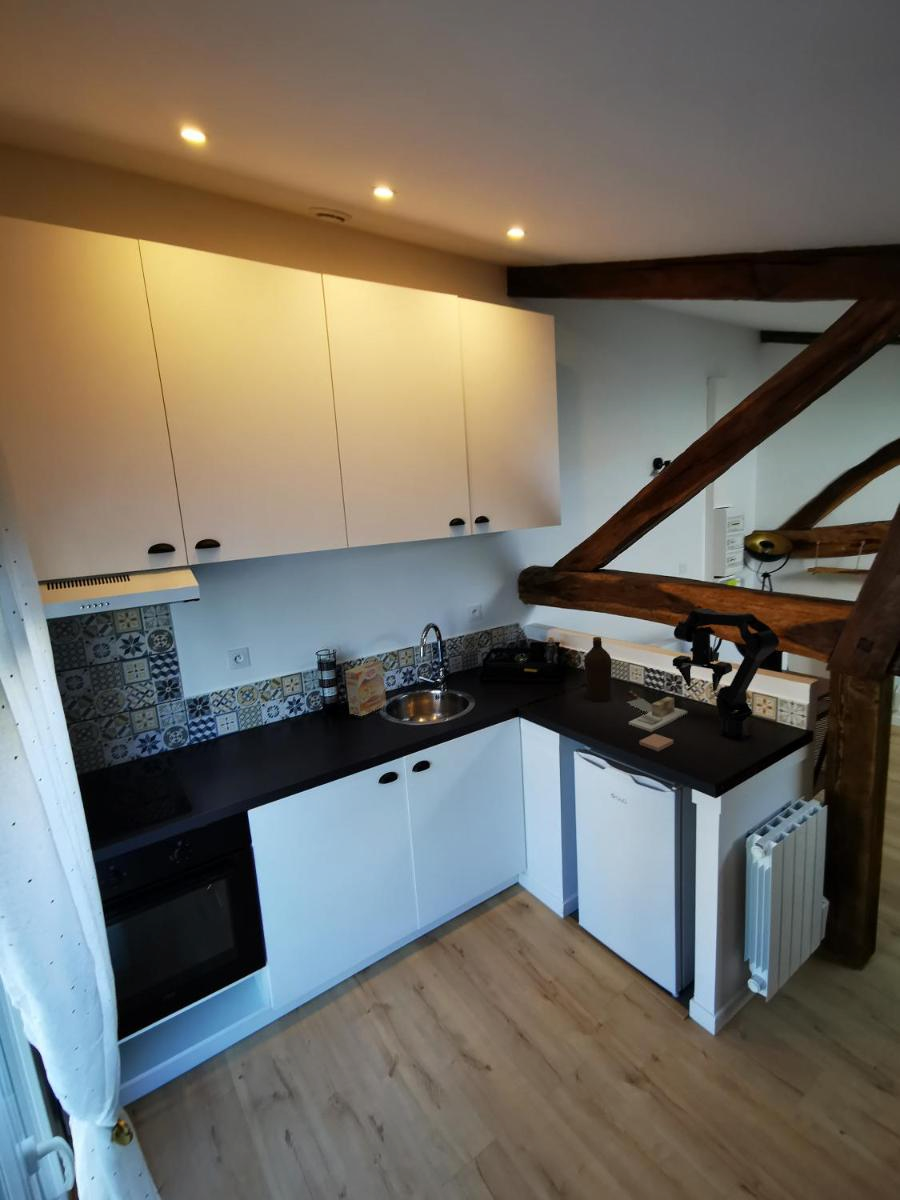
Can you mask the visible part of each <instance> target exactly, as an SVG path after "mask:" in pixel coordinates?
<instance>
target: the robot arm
mask: <svg viewBox="0 0 900 1200" xmlns="http://www.w3.org/2000/svg"><path fill="white" fill-rule="evenodd" d="M711 625H716V626H727V627H737V628H738V630H739V634H740V637H741V639H742V640H743V641H744V643H745V644H744V649H745V653H746V654H745V655H744V658H743V660H742V661H741V663H740V665H739V667H738V669H737V670H736V672H735V675H734V677H733V679H732V681H731V682H730V684H729V685H727V686H722V687H720V688H719V687H718V686H719V685H720V682H721V680H722V678H723V676H726V675H728V674H729V673H731V672H733V666H732V664H731V663H730V662H725V661H719V657H720V652H719V651H715V650H713V646H711V635H714V634H716V631H715V630H714V628H712V627H711ZM705 626H706V627H705ZM749 627H750V628H751V630H754V631H755V632H751V630H749ZM673 636H674V638H675V639H676V640H680V641H683V642H687V643H691V647H692V648H690V649H689V651H690V653H691V652H692V654H691V655H692V657H690V656H686V655H679V656H676V657H674V658H673V660H672V667H675V669H676V670H678V671H679V673H680V674H681V676H682V678H683V679H684V681H685V683H686V685H687V687H690V686H691V684H692V679H691V674H692V673H691V670H692V667H697V668H703V669H708V670H712V672H713V673H712V674H711V680H712V688H713V689H712V690H713V692H716V691H717V689H718V688H719V691H718V693H717V694H716V695H715V697H716V698H715V700H716V701H715V704H716V707H717V711H718V716H719V718H721V719H722V720H721V732H720V735H721V736H723V737H728V738H730V739H734V740H737V741H741V740H743V739H744V738H746V737H748V736H749V735H750V732H748V718H751V717H752V715H753V711H752V709H751V707H750V706H749V705H748V702H747V699H748V697H747V691H748V688H749V686H750V685H751V683H752V681H753V679H754V677H755V676H756V673H757V672H758V670H759V668H760V667H761V664H762V663H763V661H764V659H766V658H767V657H769V655H771V654H773V652H774V651H775V650H776V649H777V648H778V646H779V644H780V639H779V636H778V635H777V633H776V632H775V631H774V630H773V629H772V628H771V627H770V626H769V625H767V624H766V623H765V622H762V621H761V620H759V619H758V618H757V617H756V616H755V615H754V614H753V613H750V612H748V613H746V612H745V613H739V612H738V613H735V612H717V611H716V610H715V609H712V608H708V607H705V608H700V609H694V610H690V611H689V614H688V617H687V618H686V620H682V621H681V620H680V621H678V623H677V625H676V626H675V628H674V630H673ZM713 662H716V663H713Z"/></svg>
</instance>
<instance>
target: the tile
mask: <svg viewBox="0 0 900 1200" xmlns="http://www.w3.org/2000/svg"><path fill="white" fill-rule="evenodd" d="M638 743H639V745H640V746H642V747H645V748H648V749H651V750H653V751H656V752H661V751H662V750H664V749H665V748H668V747H670V746H672V745H673V744H674V739H672V738H669V737H665V736H663V735H660V734H656V733H653V734H651V735H649V736H647V737H645V738H642V739H640V740H639V741H638Z"/></svg>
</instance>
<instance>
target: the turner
mask: <svg viewBox="0 0 900 1200" xmlns="http://www.w3.org/2000/svg"><path fill="white" fill-rule="evenodd" d="M651 705H652V715H650V714H646V715H644V714H643V715H644V716H643V715H641V716H642V717H640V716H639V717H640V718H638V717H637V718H638V719H637V720H638V721H640V722H643V723H646V724H649V725H654V724H656V723H658V722H660V721H662V720H663V718H661V717H663V716H666V715H668V714H670V713H672V712H674V708H675V697H671V696H666V697H664V698H661V699H660V700H657V701H655V702H652V703H651Z"/></svg>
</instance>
